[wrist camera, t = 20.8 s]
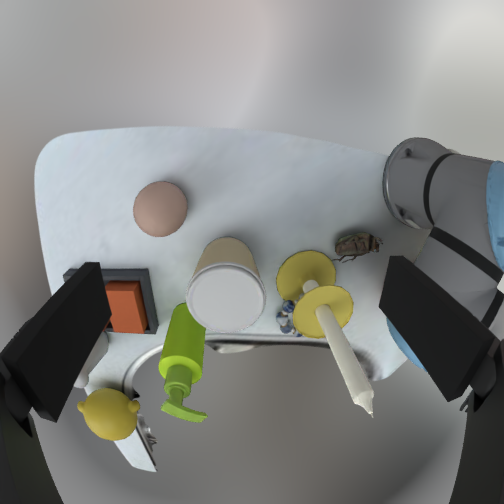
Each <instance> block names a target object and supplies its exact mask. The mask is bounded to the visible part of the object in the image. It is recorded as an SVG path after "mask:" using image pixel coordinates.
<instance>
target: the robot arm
mask: <svg viewBox="0 0 504 504" xmlns="http://www.w3.org/2000/svg"><path fill="white" fill-rule="evenodd" d="M383 192H384V197H385V201H386V203H387V206H388V208H389V210H390V211H391V213H392V214H393V215H394V217H395V218H396V219H398V220H399V221H400V222H402V223H404V224H405V225H407V226H409V227H412V228H416V229H432V231H431V233H430V235H429V236H428V238H427V240H426V242H425V244H424V246H423V248H422V250H421V252H420V254H419V256H418V258H417V259H416V261H415V263H414V264H413V263H412V262H410V261H409V260H408V259H406V258H405V257H404V256H390V259H389V264H388V269H387V273H386V278H385V282H384V287H383V291H382V295H381V299H380V303H379V308H380V309H381V310H382V311H383V313H384V314H385V315H386V317H387V325H388V327H389V331H390V333H391V336H392V337H393V339H394V341H395V342H396V344H397V345H398V347H399V348H400V349H401V351H402V352H403V353H404V354H405V355H406V356H407V357H408V359H409V360H411V361H412V362H413V363H414V364H415V365H416V366H418V367H419V368H423V369H424V370H425V371H426V372H428V374H429V375H430V376H431V378H432V379H433V381H434V382H435V384H436V385H437V387H438V388H439V390H440V391H441V393H442V394H443V396H444V397H445V399H446V400H447V402H450V401H452V400H454V399H456V398H458V397H461V396H462V395H463V393H464V391H465V390H466V389H467V387H468V385H469V384H470V386H471V387H472V388H473V390H472V391H471V393H470V395H469V396H468V397H467V398H466V400H465V401H464V403H463V404H462V406H461V408H460V411H462V410H463V409H464V407H465V406H466V405H468V408H467V409H466V411H465V412H467V422H466V430H465V437H464V443H463V449H462V454H461V459H460V465H459V469H458V473H457V477H456V481H455V485H454V488H453V492H452V496H451V499H450V502H449V504H504V294H503V293H502V292H501V291H499V290H498V289H497V285H498V284H499V282H500V280H501V278H502V276H503V274H504V163H503V162H501V161H491V160H487V159H482V158H477V157H472V156H466V155H460V154H454V153H452V152H451V151H449V150H448V149H446V148H445V147H443V146H442V145H440V144H439V143H437V142H435V141H433V140H430V139H427V138H410V139H407V140H405V141H403V142H401V143H400V144H399V145H398V146H397V147H396V148H395V149H394V150H393V151H392V153H391V154H390V156H389V158H388V160H387V163H386V166H385V169H384V175H383ZM111 316H112V312H111V308H110V305H109V301H108V297H107V293H106V289H105V285H104V281H103V276H102V272H101V267H100V263H99V262H85V263H84V264H83V265H82V266H81V267H80V268H79V269H78V270H77V271H76V272H75V273H74V274H73V275H72V276H71V277H70V278H69V279H68V280H67V281H66V282H65V283H64V284H63V285H62V286H61V287H60V288H59V289H58V291H57V292H56V293H55V294H54V295H53V296H52V297H51V298H50V299H49V300H48V301H47V302H46V304H45V305H44V306H43V307H42V308H41V309H40V310H39V311H38V312H37V313H36V315H35V316H34V317H32V318H31V319H30V320H28V321H27V322H25V324H24V325H23V326H22V327H21V328H20V329H19V332H17V333H16V334H15V336H14V338H13V339H11V341H10V342H9V343H8V344H7V345H6V347H5V348H4V349H3V350H2V352H1V353H0V504H64V503H63V501H62V499H61V497H60V495H59V493H58V490H57V488H56V486H55V483H54V481H53V479H52V476H51V474H50V471H49V468H48V466H47V463H46V460H45V457H44V454H43V452H42V449H41V445H40V442H39V439H38V435H37V432H36V428H35V424H34V420H33V418H32V416H31V415H30V413H29V411H30V409H31V408H32V407H33V408H34V410H35V411H36V412H37V413H38V415H39V416H40V417H41V418H44V419H47V420H50V421H53V422H57V420H58V418H59V416H60V414H61V411H62V409H63V407H64V405H65V403H66V401H67V398H68V396H69V394H70V392H71V390H72V388H73V386H74V384H75V382H76V380H77V378H78V376H79V374H80V372H81V370H82V368H83V366H84V364H85V362H86V360H87V359H88V357H89V355H90V353H91V351H92V349H93V347H94V346H95V344H96V342H97V340H98V338H99V337H100V335H101V333H102V331H103V329H104V328H105V326H106V324H107V322H108V321H109V319H110V317H111Z"/></svg>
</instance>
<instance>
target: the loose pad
mask: <svg viewBox="0 0 504 504" xmlns="http://www.w3.org/2000/svg"><path fill="white" fill-rule="evenodd" d="M105 289H106V293H107V297H108V301H109V305H110V308H111V312H112V316H111V317H110V320H111V323H112V326H113V329H114V332H120V333H141V334H144V332H145V330H146V327H147V325H148V318H147V313H146V309H145V304H144V299H143V294H142V289H141V284H140V281H120V280H110V281H109V282H108V283H107V285H106V286H105Z"/></svg>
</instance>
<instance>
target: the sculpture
mask: <svg viewBox="0 0 504 504" xmlns="http://www.w3.org/2000/svg"><path fill="white" fill-rule="evenodd" d="M77 406H78V409H79V411H80V412H82V413H83V414H84V418H85V421H86V423H87V425H88V426H89V428H90V429H91V430H92V431H93V432H94V433H95V434H96V435H98V436H99V437H101V438H103V439H107V440H112V441H116V440H122V439H125V438H127V437H128V436H130V435H131V434H132V433H133V431H134V430H135V427H136V424H137V412H136V411H138V410H139V409H140V404H139V402H138V401H137V400H134V401H131V400H130V399H129V398H128V397H127V396H126V395H124V394H123V393H121V392H120V391H117V390H115V389H111V388H102V389H98V390H95V391H94V392H92V393H91V394H90V395H89V396H88V397H87V399H86V401H85V402H82V401H79V402H78V405H77Z"/></svg>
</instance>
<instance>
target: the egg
mask: <svg viewBox="0 0 504 504" xmlns="http://www.w3.org/2000/svg"><path fill="white" fill-rule="evenodd" d="M187 209H188V206H187V200H186V198H185V195H184V194H183V192H182V191H181V190H180V189H179V188H178V187H177V186H175V185H174V184H172V183H168V182H154V183H151V184H149V185H147V186H146V187H145V188H143V189H142V190H141V191H140V192H139V194H138V196H137V197H136V199H135V202H134V207H133V215H134V218H135V221H136V223H137V225H138V226H139V228H140V229H141V230H142V231H143V232H145V233H147V234H148V235H151V236H154V237H164V236H168V235H170V234H172V233H174V232H176V231H177V230H178V229H179V228H180V227H181V226H182V224H183V223H184V221H185V219H186V216H187Z"/></svg>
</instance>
